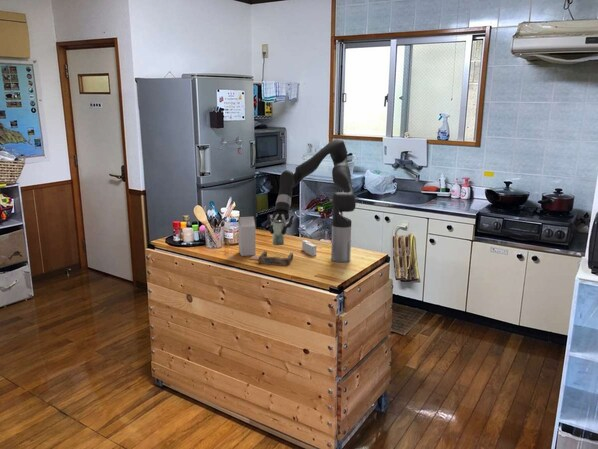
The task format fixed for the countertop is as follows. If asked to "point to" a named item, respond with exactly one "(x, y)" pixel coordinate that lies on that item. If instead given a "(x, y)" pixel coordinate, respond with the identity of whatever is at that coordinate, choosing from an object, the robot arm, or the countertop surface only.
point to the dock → (275, 259)
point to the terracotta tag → (255, 257)
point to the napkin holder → (309, 247)
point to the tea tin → (278, 232)
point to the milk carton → (247, 236)
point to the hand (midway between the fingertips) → (277, 233)
